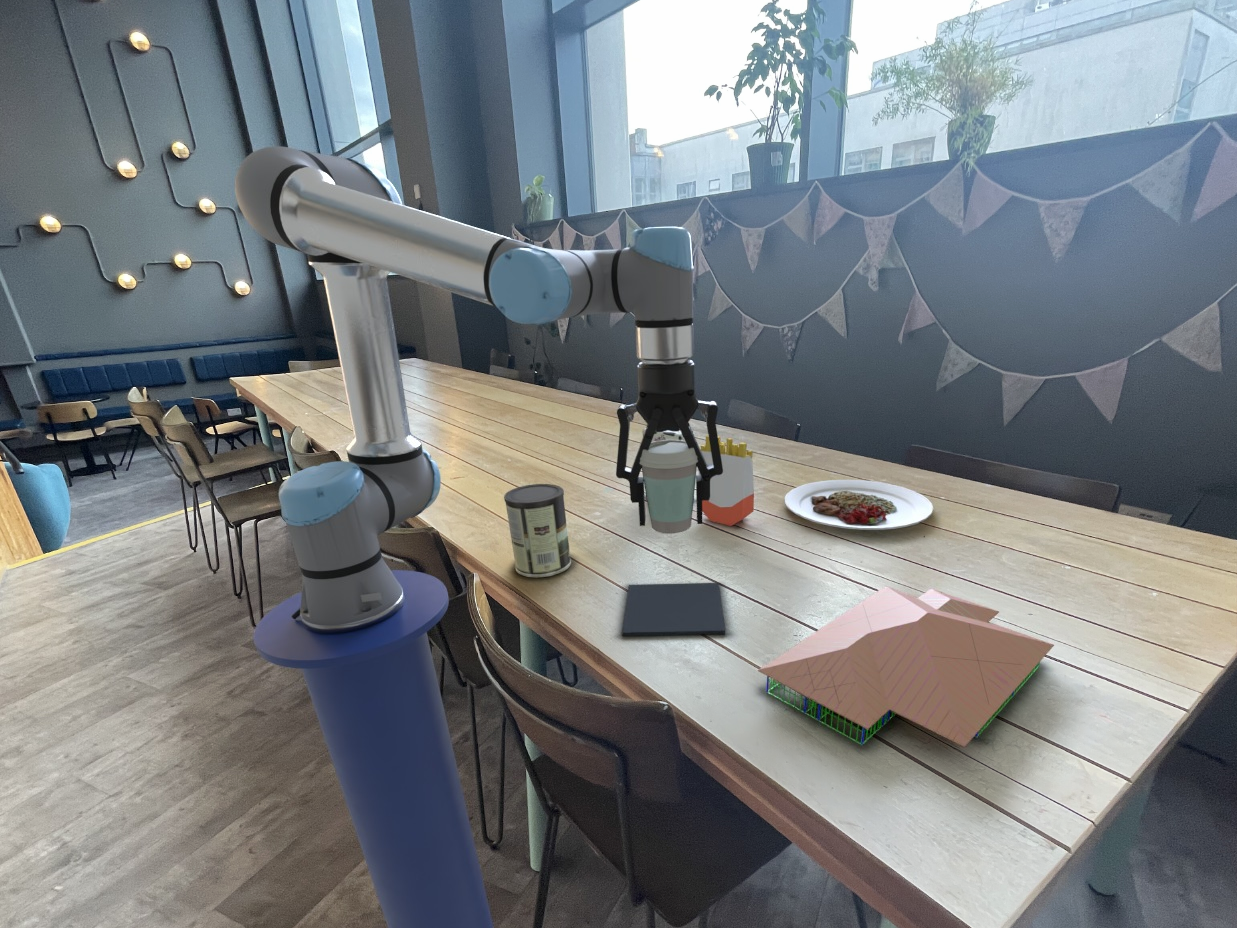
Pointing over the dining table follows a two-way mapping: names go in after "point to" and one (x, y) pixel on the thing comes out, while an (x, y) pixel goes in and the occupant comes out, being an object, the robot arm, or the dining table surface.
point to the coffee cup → (669, 484)
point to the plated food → (858, 504)
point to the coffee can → (538, 529)
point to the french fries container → (730, 484)
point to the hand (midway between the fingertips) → (671, 521)
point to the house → (910, 664)
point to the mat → (673, 610)
